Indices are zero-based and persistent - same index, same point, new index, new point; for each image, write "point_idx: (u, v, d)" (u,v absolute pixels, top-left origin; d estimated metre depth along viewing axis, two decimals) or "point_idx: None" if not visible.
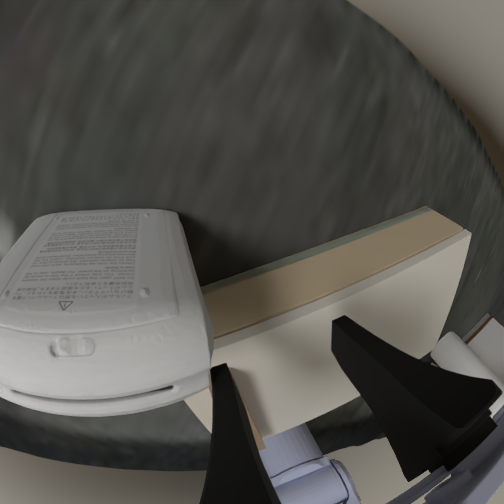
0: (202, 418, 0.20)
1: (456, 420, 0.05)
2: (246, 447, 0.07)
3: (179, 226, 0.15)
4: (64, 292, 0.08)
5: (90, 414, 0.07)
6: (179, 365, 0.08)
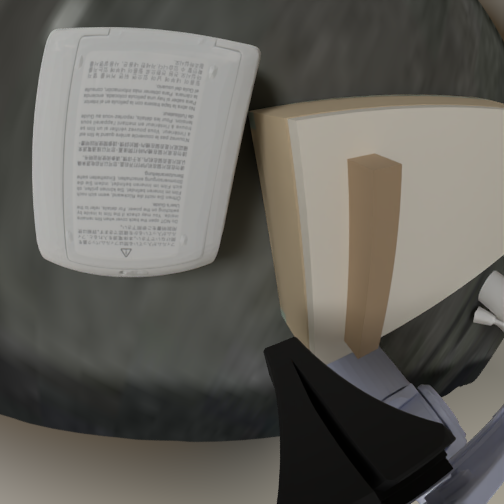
0: (316, 273, 0.14)
1: (389, 469, 0.05)
2: (317, 419, 0.07)
3: (246, 105, 0.11)
4: (122, 238, 0.12)
5: None
6: None
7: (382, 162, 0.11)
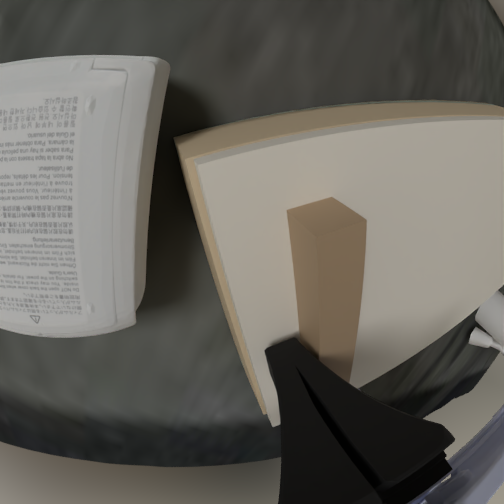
0: (254, 347, 0.11)
1: (388, 470, 0.05)
2: (318, 418, 0.07)
3: (140, 142, 0.08)
4: (28, 305, 0.09)
5: None
6: None
7: (336, 218, 0.08)
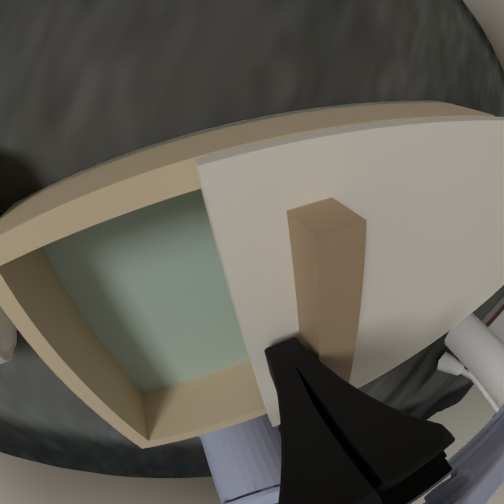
0: (254, 347, 0.11)
1: (388, 470, 0.05)
2: (318, 418, 0.07)
3: None
4: None
5: None
6: None
7: (336, 218, 0.08)
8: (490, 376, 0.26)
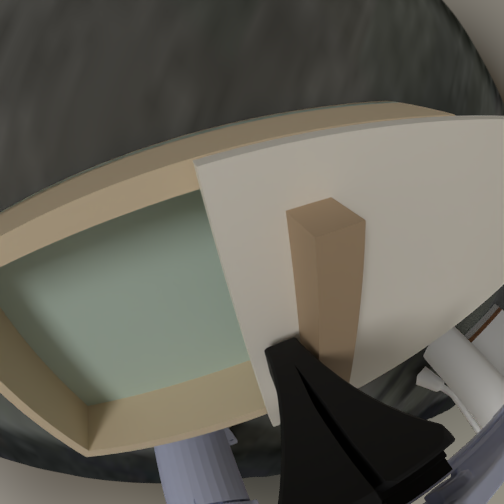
0: (254, 347, 0.11)
1: (388, 470, 0.05)
2: (318, 419, 0.07)
3: None
4: None
5: None
6: None
7: (335, 218, 0.08)
8: (470, 395, 0.25)
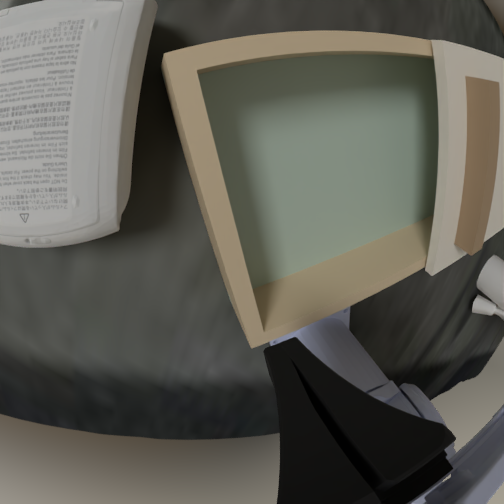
0: (450, 162, 0.14)
1: (389, 469, 0.05)
2: (317, 419, 0.07)
3: (130, 50, 0.09)
4: (19, 202, 0.10)
5: None
6: (99, 237, 0.13)
7: None
8: None
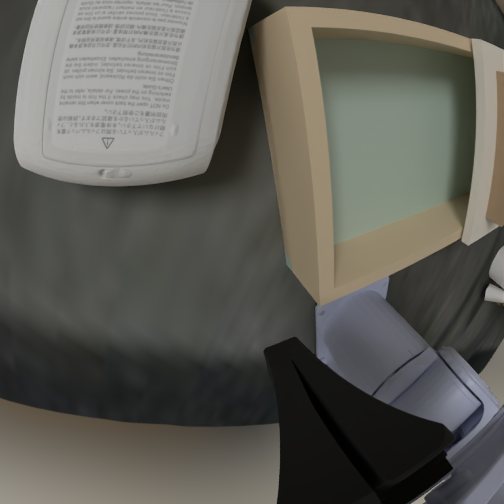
0: (485, 141, 0.14)
1: (389, 469, 0.05)
2: (317, 419, 0.07)
3: (246, 0, 0.09)
4: (105, 124, 0.10)
5: None
6: (183, 177, 0.13)
7: None
8: None
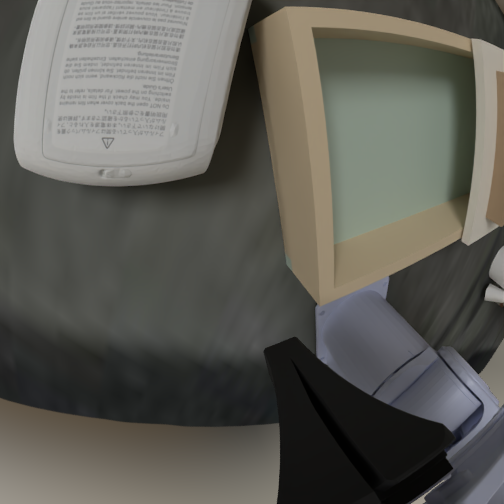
0: (485, 141, 0.14)
1: (389, 469, 0.05)
2: (317, 419, 0.07)
3: (246, 0, 0.09)
4: (105, 124, 0.10)
5: None
6: (183, 177, 0.13)
7: None
8: None
